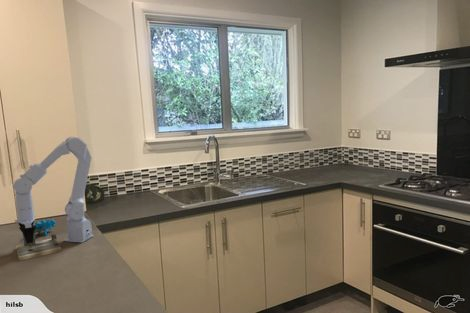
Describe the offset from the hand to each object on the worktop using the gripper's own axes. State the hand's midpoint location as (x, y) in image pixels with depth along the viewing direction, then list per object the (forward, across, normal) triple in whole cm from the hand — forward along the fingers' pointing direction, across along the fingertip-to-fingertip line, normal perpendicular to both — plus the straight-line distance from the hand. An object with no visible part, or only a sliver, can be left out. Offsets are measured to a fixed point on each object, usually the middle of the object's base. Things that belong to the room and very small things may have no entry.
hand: (29, 240), depth 144 cm
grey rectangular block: (+1, +2, 0) cm, 2 cm away
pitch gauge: (+4, +3, +3) cm, 6 cm away
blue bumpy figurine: (+4, -18, +7) cm, 19 cm away
